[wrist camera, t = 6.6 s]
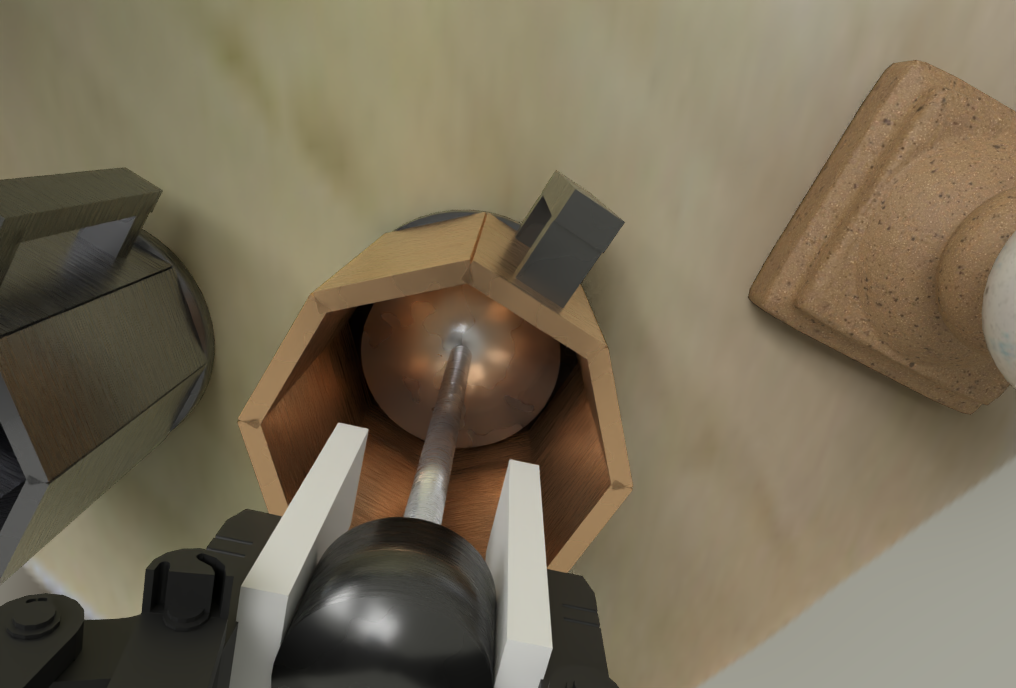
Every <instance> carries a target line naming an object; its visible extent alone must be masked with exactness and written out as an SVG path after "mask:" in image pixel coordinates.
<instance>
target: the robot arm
mask: <svg viewBox="0 0 1016 688" xmlns="http://www.w3.org/2000/svg"><path fill="white" fill-rule="evenodd" d="M368 430H369V429H367V428H362V427H357V426H353V425H348V424H343V423H338V424H337V426H336V427H335V429H334V431H333V433H332V434H331V436H330V438H329V439H328V441H327V443H326V444H325V446H324V448H323V449H322V451H321V453H320V454H319V456H318V458H317V459H316V461H315V463H314V464H313V466H312V468H311V469H310V471H309V473H308V474H307V476H306V478H305V479H304V481H303V483H302V484H301V486H300V488H299V490H298V491H297V493H296V495H295V496H294V498H293V500H292V501H291V503H290V505H289V506H288V508H287V510H286V511H285V513H284V515H283V516H279V515H274V514H269V513H264V512H259V511H254V510H249V509H245V510H244V511H242V512H240V513H238V514H237V515H235V516H233V517H231V518H230V519H228V520H227V521H226V522H225V523H224V525H223V526H222V527H221V529H220V530H219V531H218V533H217V534H216V537H215V538H213V540H212V541H211V542H210V544H209V545H208V546H207V549H206V550H205V549H201V548H194V549H180V550H176V551H172V552H168V553H166V554H164V555H162V556H160V557H158V558H156V559H154V560H153V561H152V563H151V564H150V565H149V566H148V567H147V568H146V573H145V583H144V593H143V604H142V613H141V615H137V616H133V617H129V618H120V619H104V620H84V609H83V608H82V607H81V605H80V604H79V603H78V602H77V601H76V600H74V599H71V598H69V597H66V596H64V595H57V594H47V593H45V594H37V595H28V596H24V597H21V598H19V599H15V600H12V601H9V602H7V603H5V604H4V605H2V606H0V688H271V674H272V669H273V664H274V661H275V658H276V655H277V653H278V650H279V648H280V646H281V644H282V642H283V639H284V637H285V635H286V633H287V630H288V628H289V626H290V624H291V622H292V619H293V617H294V615H295V613H296V610H297V608H298V606H299V604H300V602H301V599H302V597H303V595H304V593H305V591H306V588H307V586H308V584H309V582H310V579H311V577H312V575H313V573H314V571H315V568H316V566H317V564H318V562H319V560H320V559H321V557H322V555H323V554H324V552H325V551H326V550H327V548H328V547H329V546H330V545H331V544H332V543H333V542H334V541H335V540H336V539H337V538H338V537H340V536H341V535H342V534H344V533H345V532H347V531H348V530H349V527H350V525H351V520H352V515H353V510H354V504H355V499H356V494H357V488H358V483H359V478H360V473H361V467H362V462H363V457H364V451H365V446H366V441H367V436H368ZM485 562H486V564H487V566H488V568H489V570H490V572H491V574H492V577H493V580H494V583H495V589H496V629H495V656H494V683H493V688H619V687H618V686H617V684H616V683H615V682H614V681H613V680H611V679H610V678H609V675H608V669H607V663H606V657H605V652H604V646H603V640H602V634H601V628H599V626H600V623H599V617H598V614H597V605H596V599H595V594H594V592H593V590H592V589H591V588H590V586H589V585H588V583H587V582H586V581H585V579H584V578H583V576H579V575H574V574H570V573H565V572H560V571H555V570H550V569H547V566H546V552H545V539H544V525H543V512H542V498H541V485H540V471H539V465H535V464H530V463H525V462H521V461H516V460H511V459H510V460H509V464H508V468H507V471H506V475H505V479H504V483H503V487H502V491H501V495H500V499H499V503H498V507H497V511H496V515H495V519H494V522H493V526H492V530H491V534H490V538H489V542H488V546H487V550H486V560H485Z"/></svg>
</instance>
